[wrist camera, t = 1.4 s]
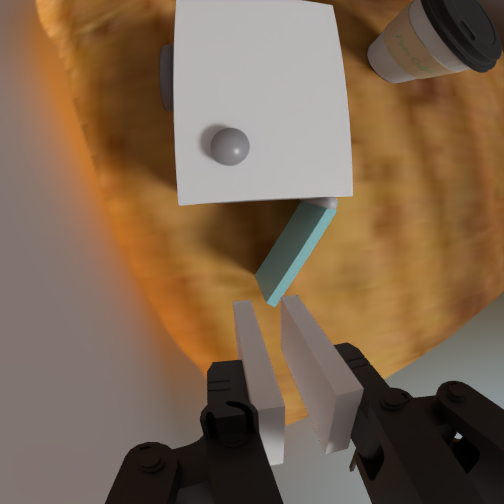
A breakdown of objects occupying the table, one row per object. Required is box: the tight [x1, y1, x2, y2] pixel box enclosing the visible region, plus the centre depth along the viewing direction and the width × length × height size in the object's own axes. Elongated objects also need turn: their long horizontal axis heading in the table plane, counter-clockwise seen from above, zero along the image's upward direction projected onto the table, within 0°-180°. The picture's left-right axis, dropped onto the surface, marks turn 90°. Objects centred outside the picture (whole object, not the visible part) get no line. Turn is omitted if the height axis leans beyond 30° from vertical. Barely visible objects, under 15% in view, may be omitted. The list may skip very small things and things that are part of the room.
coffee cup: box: [367, 0, 502, 83], centre depth 18 cm, size 9×9×15 cm
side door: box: [254, 197, 338, 307], centre depth 25 cm, size 10×2×7 cm, turn 148°
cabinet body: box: [159, 0, 353, 206], centre depth 21 cm, size 16×13×10 cm
